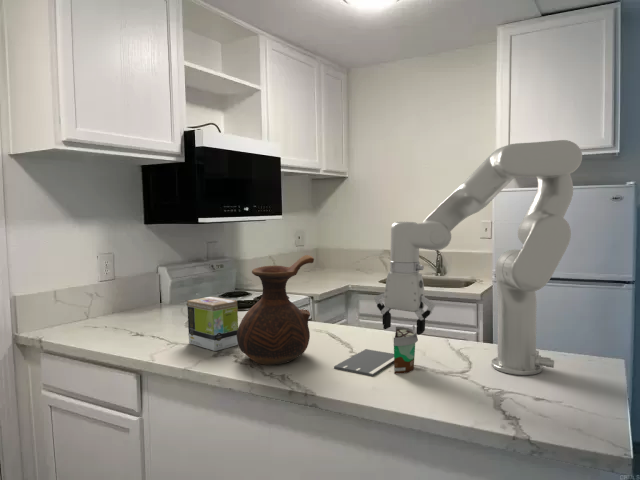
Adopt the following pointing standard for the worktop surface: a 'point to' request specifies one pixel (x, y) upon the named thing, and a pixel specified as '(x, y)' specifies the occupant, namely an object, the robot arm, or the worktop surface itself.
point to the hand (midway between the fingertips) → (403, 330)
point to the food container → (404, 350)
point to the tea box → (213, 322)
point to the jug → (275, 319)
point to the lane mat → (367, 362)
